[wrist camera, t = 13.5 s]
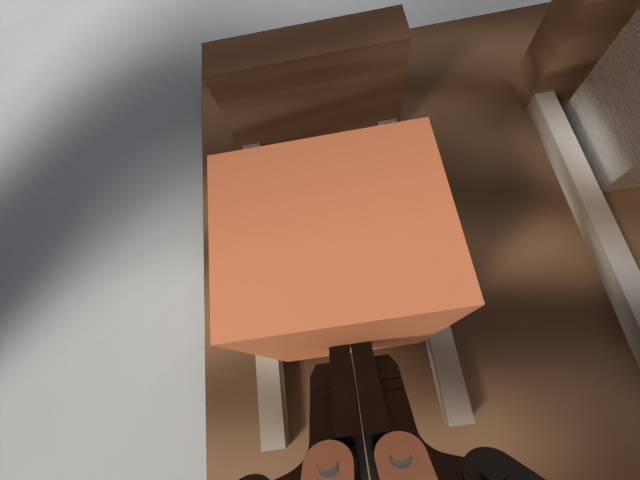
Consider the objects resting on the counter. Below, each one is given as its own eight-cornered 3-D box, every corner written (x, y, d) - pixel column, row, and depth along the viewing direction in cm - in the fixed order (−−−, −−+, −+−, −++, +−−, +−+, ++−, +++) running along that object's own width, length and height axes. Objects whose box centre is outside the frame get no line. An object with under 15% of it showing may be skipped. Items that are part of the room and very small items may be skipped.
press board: (980, 453, 14) (1534, 521, 7) (217, 544, 15) (110, 667, 9) (658, -5, 23) (773, -153, 17) (207, 79, 25) (153, -26, 18)
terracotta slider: (420, 342, 16) (485, 304, 8) (287, 362, 16) (210, 345, 8) (396, 238, 18) (428, 116, 10) (278, 258, 18) (207, 155, 10)
